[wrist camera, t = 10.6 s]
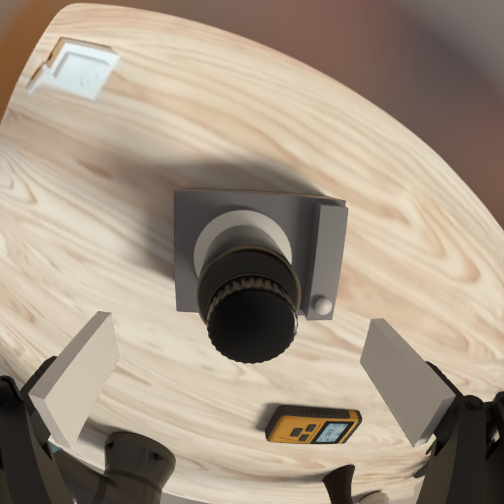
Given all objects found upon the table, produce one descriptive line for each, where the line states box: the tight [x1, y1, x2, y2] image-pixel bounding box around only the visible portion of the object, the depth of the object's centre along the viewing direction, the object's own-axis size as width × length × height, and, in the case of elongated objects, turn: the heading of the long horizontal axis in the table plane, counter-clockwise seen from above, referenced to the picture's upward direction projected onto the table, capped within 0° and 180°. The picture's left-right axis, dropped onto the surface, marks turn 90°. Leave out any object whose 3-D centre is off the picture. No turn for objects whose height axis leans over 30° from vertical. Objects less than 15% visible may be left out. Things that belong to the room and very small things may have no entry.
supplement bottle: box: [195, 225, 301, 364], centre depth 20 cm, size 7×7×12 cm
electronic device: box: [265, 405, 362, 444], centre depth 40 cm, size 8×16×3 cm, turn 73°
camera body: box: [174, 188, 348, 320], centre depth 28 cm, size 16×12×9 cm
